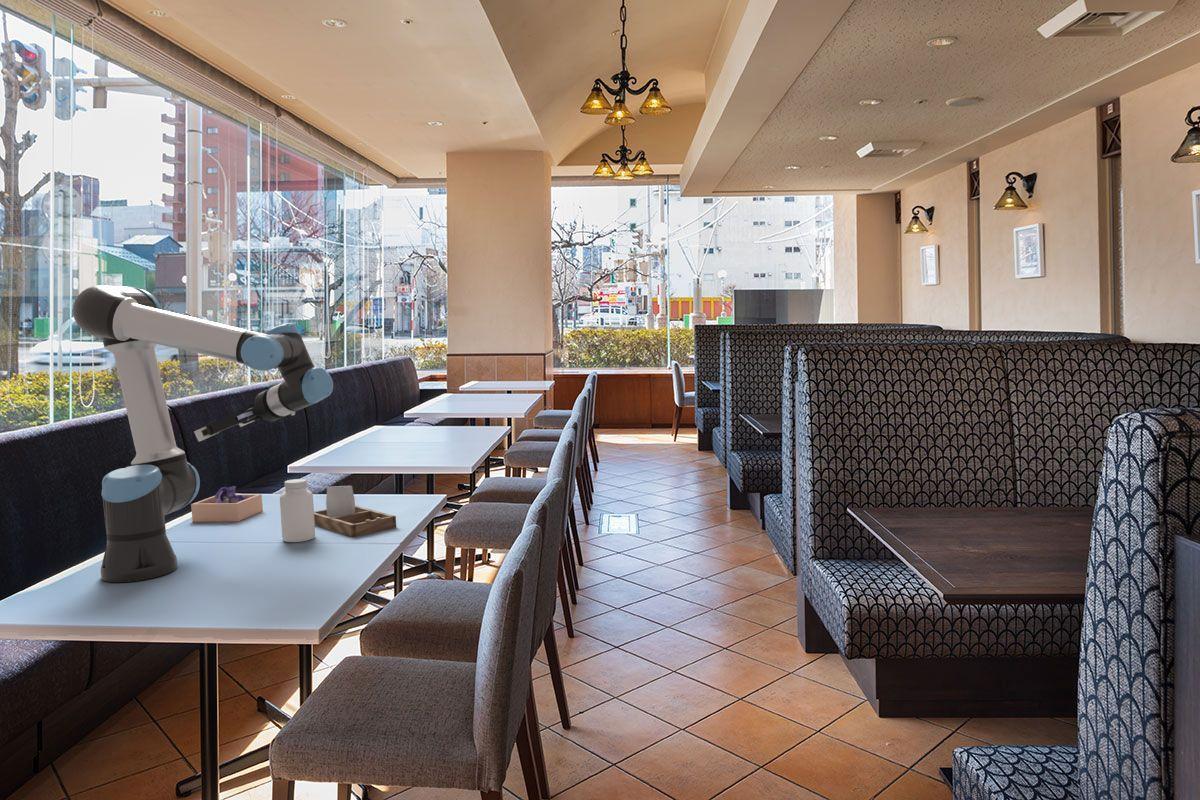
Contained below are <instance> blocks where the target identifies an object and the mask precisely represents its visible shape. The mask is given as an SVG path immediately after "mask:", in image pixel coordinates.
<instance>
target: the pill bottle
mask: <svg viewBox="0 0 1200 800" xmlns="http://www.w3.org/2000/svg"><path fill="white" fill-rule="evenodd" d="M307 482H308V481H307V480H306V479H304V478H296V479H295V478H293V479H287V480H285V481H284V483H283V484H284V490H285V491H283V492H282V493H280V496H279V507H280V509H279V510H280V525H281V526H280V527H281V537H282V541H284V542H286V543H300V542H307V541H311V540H313V539H314V538H315V536H316V525H315V522H314V512H315V507H314V506H315V505H314V494H313V492H312V491H310V490H309V489H307V488H308V483H307Z"/></svg>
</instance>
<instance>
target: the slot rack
mask: <svg viewBox="0 0 1200 800" xmlns="http://www.w3.org/2000/svg"><path fill="white" fill-rule="evenodd" d="M355 512H356V513H353V514H348V515H344V516H339V517H334V518H332V517H328V516H327V509H326V508H324V509H321V510H314V522H315V526H317V527H321V528H323V529H327V530H330V531H333V532H336V533H339V534H342V535H346V536H349V537H352V538H354V537H358V536H362V535H363V536H364V535H367V534H368V535H369V534H372V533H373V534H374V533H377V532H381V531H385V530H386V531H387V530H390V529H394V528H397V517H396V515H393V514H390V513H385V512H382V511H377V510H374V509H371V508H365V507H363V506H359V505H355Z"/></svg>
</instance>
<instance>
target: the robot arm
mask: <svg viewBox="0 0 1200 800" xmlns="http://www.w3.org/2000/svg"><path fill="white" fill-rule="evenodd" d="M72 316H73V319H74V321H75V323H76V324H77V326H78V327H79V328H80V329H81V330H82V331H84V332H85V333H86V334H88V335H91V336H92V337H93V336H94V337H96V338H97V337H98V338H102V339H101V340H102V343H103V347H104V349H105V350H107V351H108V352H110V353H111V354H112V355H113V356H114V357H113V358H114V362H115V366H116V371H117V376H118V381H119V384H120V387H121V392H122V396H123V402H124V404H125V411H126V414H127V418H128V423H129V427H130V431H131V436H132V440H133V445H134V450H135V452H136V454H135V457H133V459H132V461H131V462H130V464H131V465H129V466H126V467H124V468H121V467H120V468H117V469H115V470H112V471H110V472H108V473H107V474H105V475H104V476H103V478H102V481H101V488H102V489H101V497H102V502H103V503H102V504H103V512H104V513H103V514H104V524H105V531H106V547H105V551H104V555H103V558H102V564H101V567H100V578H101V581H104V582H107V583H108V582H109V583H131V582H139V581H145V580H149V579H155V578H158V577H162V576H165V575H168V574H170V573H172V572H174V571H176V570H177V569H178V567H179V566H178V557H177V555H176V554H175V552H174V549H173V546H172V544H171V542H170V540H169V538H168V536H167V530H166V519H165V517H166V516H167V515H169V514H171V513H173V512H179V511H180V510H183V509H184V508H185V507H186V506H188V505H189V504H191V503H192V501H194V500H195V498H196V497H197V495H198V494H199V490H200V487H201V484H200V483H201V478H200V475H199V472H198V470H197V469H196V468H195V466H194V465H192V464H191V463H190V462H188V460H187V455H186V452H185V451H184V450H183V449H181V448H179V447H178V445H177V443H176V439H175V435H174V430H173V425H172V422H171V421H172V420H171V416H170V412H169V408H168V407H169V406H168V404H167V399H166V398H167V397H166V395H165V390H164V386H163V381H162V375H161V372H160V368H159V364H158V358H157V355H156V350H155V348H156V347H157V345H160V346H164V347H169V348H173V349H178V350H182V351H186V352H190V353H193V354H195V353H196V354H199V355H204V356H208V357H211V358H212V357H213V358H217V359H219V360H220V359H221V360H226V361H230V362H233V363H238V364H242V365H245V366H247V367H248V368H250V369H253V370H255V371H256V370H257V371H265V372H266V371H270V370H274V369H278V371H279V373H280V374H281V377H282V379H283V382H280V383H277V384H276V385H274V386H271V387H270V388H268V389H266V390H263V391H261V392H259V393H258V394H257V395H256V397H255V400H254V403H252V404H249V405H248V406H247V407H245V408H242V409H239V410H238V411H237V412H235V413H234V414H231V415H228V416H226V417H223V418H221V419H218V420H216V421H214V422H212V421H211V420H209V421H208V424H206V425H205V426H203V427H201V428H199V429H196V430H195V431H193V433H194V435H195V437H196V440H197V442H201V441H202V442H203V441H204V440H206V439H208V438H212V437H213V436H215V435H218V434H219V433H220V432H222V431H225V430H228V429H231V428H232V427H235V426H239V428H242V427H244V426H247V425H248V424H251V423H253V422H256V421H259V420H261V421H264V420H265V421H267V422H276V421H278V420H281V419H282V418H284V417H286V416H289V415H291V416H292V417H293V416H295V415H296V412H297V411H300V410H302V409H305V408H307V407H310V406H312V405H314V404H317V403H319V402H321V401H323V400H324V399H326V398H328V397H329V396H330V395H331V394H332V393H333V389H334V382H333V378H332V376H331V374H329V373H328V372H327V370H326V369H325V368H322V367H319V366H317V367H316V366H315V365H314V362H313V361H312V358H311V356H310V353H309V352H308V349H307V347H306V344H305V343H304V339H303V336H302V334H301V333H300V331H299V330H298V328H297V325H296V324H294V323H293V322H292V323H291V322H288V323H284V324H280V325H278V326H275V327H272V328H269V330H266V332H265V333H262V332H258V331H253V330H248V329H244V328H241V327H236V326H232V325H227V324H223V323H219V322H215V321H210V320H206V319H201V318H198V317H194V316H191V315H184V314H180V313H176V312H172V311H168V310H164V309H162V306H161V304H160V302H159V301H158V300H157V298H156V297H155V296H154V295H153V294H151V293H150V292H149V291H146V290H144V289H141V288H138V287H135V286H130V285H127V286H121V285H120V286H119V285H105V284H100V285H94V286H90V287H88V288H85V289H84V290H82V291H81V292H79V294H78V295H77V296H76V297H75V299H74V302H73V305H72Z"/></svg>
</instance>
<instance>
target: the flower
mask: <svg viewBox="0 0 1200 800" xmlns="http://www.w3.org/2000/svg"><path fill="white" fill-rule="evenodd" d="M236 488H237V486H236V485H235V486H234V485H232V486H229V487H228V486H224V487H223V486H222V487H220V488H219V490H217V492H216V494H214V496H215V502H216V503H237V502H240V501H242V500H245V496H243V495H237V493H236Z"/></svg>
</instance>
